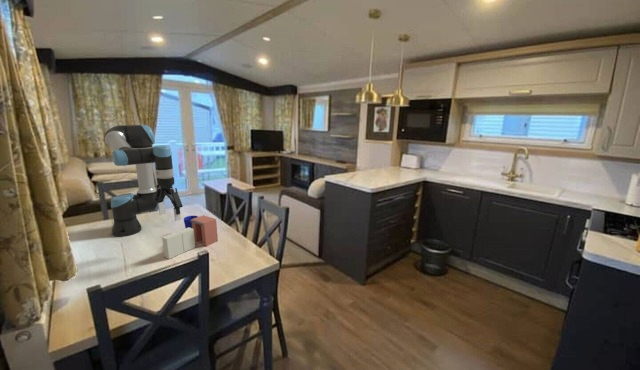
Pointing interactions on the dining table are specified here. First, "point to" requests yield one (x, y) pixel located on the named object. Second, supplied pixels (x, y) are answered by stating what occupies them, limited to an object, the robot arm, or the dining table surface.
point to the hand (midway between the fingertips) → (170, 217)
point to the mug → (188, 221)
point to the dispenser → (205, 230)
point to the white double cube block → (178, 242)
